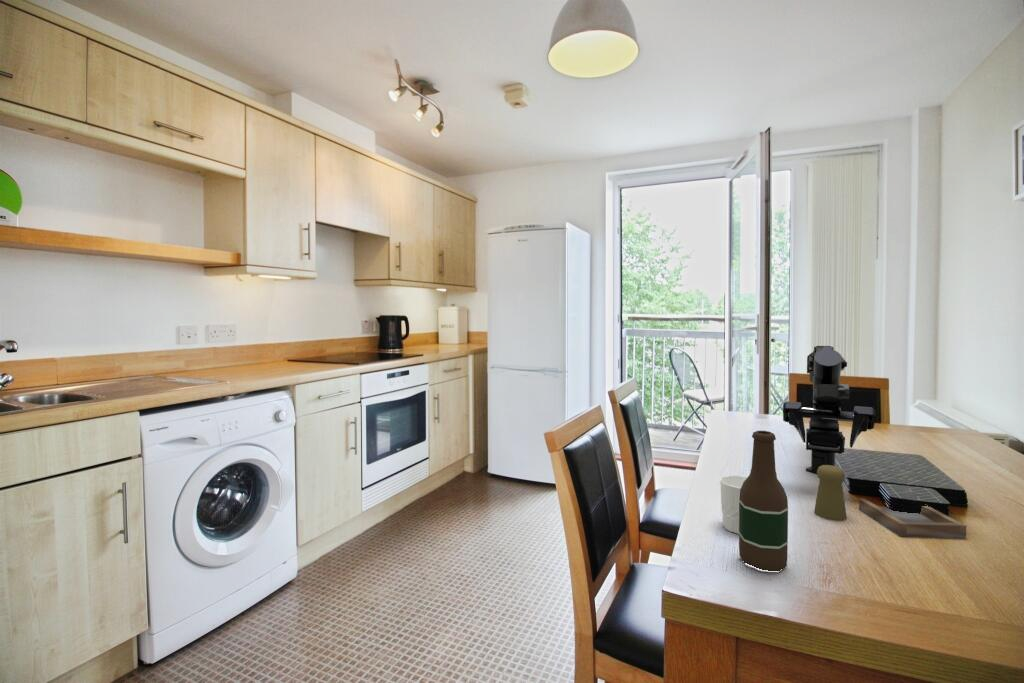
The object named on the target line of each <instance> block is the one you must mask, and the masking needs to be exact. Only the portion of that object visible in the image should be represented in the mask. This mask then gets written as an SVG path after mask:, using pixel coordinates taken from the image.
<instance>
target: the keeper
mask: <svg viewBox="0 0 1024 683" xmlns="http://www.w3.org/2000/svg"><path fill="white" fill-rule="evenodd" d="M858 501H859V504H858V510H859V511H861V512H862V513H863V514H865V515H866V516H868V517H869V518H871V519H873V520H874V521H875V522H877V523H878V524H880V525H881V526H883V527H884V528H886V529H887V530H889V531H890V532H892V533H893V534H895V535H897V536H898V537H901V538H931V539H933V538H935V539H936V538H937V539H963V540H964V539H965V540H966V539H967V525H965V524H964V523H962V522H960V521H958V520H956V519H954V518H952V517H950V516H948V515H946V514H945V513H944V512H941V511H939V510H937V509H934V508H933V507H931V506H929V505H927V506H921V507H922V508H921V512H920V514H919V513H907V512H899V511H893V510H891V509H889V508H890V507H880V506H878V505H877V504H875V503H873V502H871V501H870V500H868V499H866V498H858ZM928 506H929V507H928Z"/></svg>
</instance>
